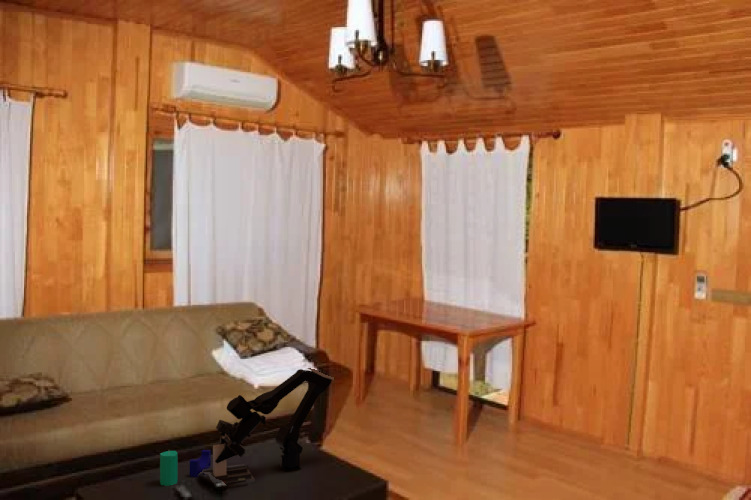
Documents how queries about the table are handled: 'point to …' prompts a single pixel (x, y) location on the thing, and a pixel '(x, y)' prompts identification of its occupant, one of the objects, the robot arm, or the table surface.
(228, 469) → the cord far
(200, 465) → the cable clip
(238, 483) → the cord near
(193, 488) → the table surface
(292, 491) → the table surface
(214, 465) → the pinkish beige rectangular block
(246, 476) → the panel
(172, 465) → the candle
